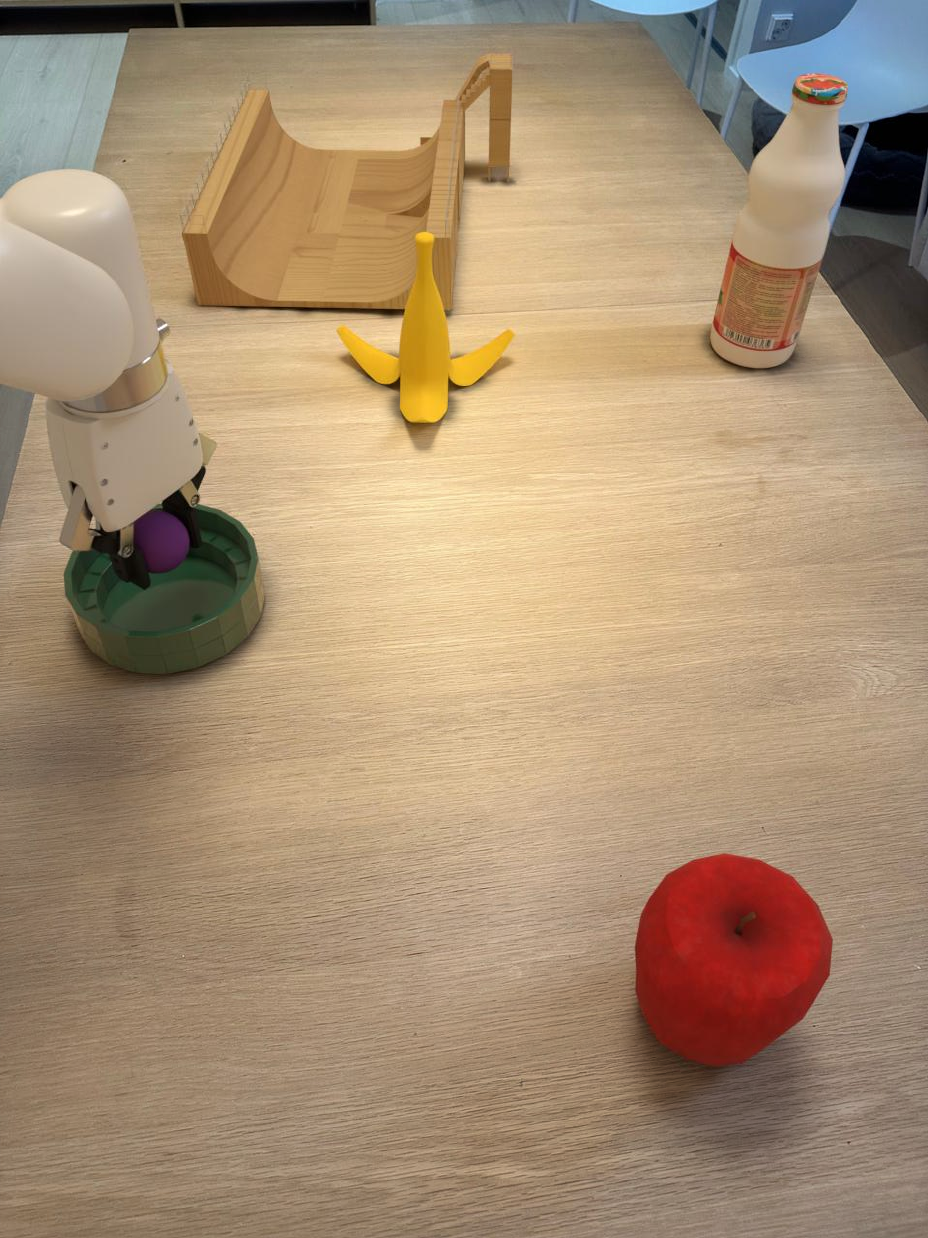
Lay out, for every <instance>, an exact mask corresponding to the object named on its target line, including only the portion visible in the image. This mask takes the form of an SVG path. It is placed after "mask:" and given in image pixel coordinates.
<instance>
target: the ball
mask: <svg viewBox="0 0 928 1238" xmlns="http://www.w3.org/2000/svg"><path fill="white" fill-rule="evenodd" d="M134 546H135V547H137V548H139V549H140V550H141V551H142V553H143V556H144V560H145V563H146V567H147V570H148V573H154V574H161V573H166V572H169V571H171V570H173V569H175V568H176V567H178V566H179V565H180V564H181V563H182V562H183V561H184V559H185V558H186V556H187V553H188V550H189V535H188V532H187V529H186V528H185V526H184V524H183V523H182V522H181V521H180V520H179V519H178V518H177V517H176V516H174V515H172V514H171V513H168V512H165V511H161V510H151V511H148V512H146V513H145V514H144V515H142V516H141V517H139V518H138V519H136V520H135V521H134Z"/></svg>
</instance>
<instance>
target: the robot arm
mask: <svg viewBox="0 0 928 1238" xmlns="http://www.w3.org/2000/svg"><path fill="white" fill-rule="evenodd" d="M137 234H138V233H137V230H136V226H135V221H134V217H133V213H132V209H131V206H130V203H129V201H128V197H127V196H126V194H125V193H124V191H123V190H122V189H121V187H120V186H119V185H118V184H117V183H115V182H114V180H112V179H110V178H109V177H107V176H104V175H103V174H100V173H98V172H95V171H91V170H87V169H77V168H63V169H61V168H60V169H52V170H47V171H42V172H38V173H34V174H31V175H29V176H25V177H24V178H22V179H20V180H18V181H16V182H15V183H14V184H13V185H12V186H10V187H9V188H8V189H7V190H6V191H5V193H4V194H3V195H2V197H0V385H3V386H6V387H7V386H8V387H11V388H14V389H18V390H21V391H24V392H28V393H31V394H34V395H39V396H42V397H46V398H47V399H46V400H45V418H46V419H45V421H46V431H47V438H48V445H49V450H50V454H51V459H52V463H53V468H54V472H55V477H56V480H57V483H58V486H59V490H60V494H61V496H62V500H63V502H64V504H65V507H66V509H67V512H66V515H65V519H64V522H63V525H62V528H61V531H60V535H59V538H58V541H59V543H60V544H61V545H62V546H64V547H65V548H68V550H71V551H72V552H73V551H90V550H96V551H97V552H101V553H108V554H109V557H110V560H111V563H112V566H113V569H114V572H115V574H116V575H117V576H118V577H119V578H120V579H121V580H123V581H124V582H126V583H129V582H132V583H133V584H135V585H137V586H138V587H140V588H142V589H143V590H146V589H147V588H148V587H149V586H150V583H151V580H150V577H149V573H148V570H147V567H146V563H145V560H144V556H143V553H142V551H141V550H140V549H139V548H137V547H135V546H134V521H135V520H136V519H138V518H139V517H141V516H142V515H144V514H145V513H146V512H148V511H149V510H151V509H152V508H153V507H155V506H156V505H157V504H160V503H162V507H163V511H165V512H168V513H171V514H172V515H174V516H176V517H177V518H178V519H179V520H180V521H181V522H182V523H183V524H184V526H185V528H186V529H187V532H188V535H189V546H190V547H192V548H194V549H195V548H196V549H198V548H199V547H200V546H202V545H203V543H202V539H201V534H200V530H199V527H200V525H199V521H198V517H197V512H196V508H195V507H196V506H197V505H198V504H199V503H200V502H201V499H202V497H201V495H200V493H199V490H200V487H201V485H202V482H203V480H204V478H205V476H206V472H207V469H206V466H208V465H209V463H210V461H211V459H212V457H213V455H214V453H215V451H216V449H217V447H218V445H217V442H216V441H215V440H214V439H211V438H210V437H207V436H206V435H204V434H202V433H201V432H199V429H198V426H197V422H196V419H195V416H194V413H193V409H192V407H191V403H190V401H189V399H188V396H187V393H186V392H185V389H184V387H183V384H182V382H181V380H180V378H179V376H178V374H177V373H176V370H175V369H174V367H173V365H172V363H171V362H170V361H169V360H167V358H165V357H166V356H165V354H164V349H163V344H162V343H163V342H164V341H165V339H166V338H168V337H169V336H170V335H171V329H170V326H169V325H168V323H167V322H166V321H165V320H164V319H163V318H160V317H159V318H157V319H156V314H155V310H154V305H153V300H152V297H151V292H150V288H149V284H148V279H147V275H146V271H145V266H144V261H143V257H142V252H141V248H140V244H139V240H138V235H137ZM93 518H94V520H95V528H96V529H95V528H92V527H91V528H90V526H91V523H92V519H93ZM113 531H116V533H114V532H113Z"/></svg>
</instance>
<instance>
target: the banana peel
mask: <svg viewBox="0 0 928 1238" xmlns="http://www.w3.org/2000/svg"><path fill="white" fill-rule="evenodd" d="M415 243H416V248H417V273H416V277H415V281H414V284H413V287H412V289H411V292H410V295H409V298H408V301H407V305H406V308H405V309H404V313H403V316H402V317H403V318H402V323H401V328H400V336H399V346H398V347H399V349H398V357H397V356H394V355H392V354H390V353H386V352H385V351H382V350H380V349H379V348H376V347H375V346H373V345H372V344H370V343H369V342H368V341H366V340H364V339H362V338H361V337H360V336H358V335H357V334H356V333H354V332H353V331H352V330H351V329H350V328H349V327H347V326H346V325H344V324H341V325H339V326H338V328H337V329H336V334H337V335H338V337H339V338H340V340H341V341H342V343H343V345H344V346H345V348H346V349H347V350H348V351H349V353H350V354H351V356H352V357H353V359H354V360H355V361H356V362H357V364H358V365H359V366H360V367H361V368H362V369H363V370H364V371H365V372H366V373H367V374H368V375H369V376H370V377H371V378H372V379H373V380H374V381H375V382H376V383H378V384H382V385H391V384H393V383H395V382H397V381H398V380H399V379H400V380H399V381H400V382H399V383H400V387H399V388H400V389H399V390H400V391H399V397H400V398H399V410H400V411H401V414H402V415H403V417H404V418H405V419H406V420H407V421H408V422H410V423H422V424H423V423H424V424H425V423H426V424H427V423H428V424H432V423H436V422H438V421H439V420H441V418H443V417H444V415H445V414H446V412H447V411H448V408H449V406H448V404H449V402H448V401H449V380H450V381H451V382H452V383H453V384H455V385H457V386H460V387H468V386H471V385H473V384H474V383H476V382H477V381H478V380H479V379H481V378H482V377H483V376H484V375H485V374H486V373H487V372H488V371H489V370H490V369H491V368H492V367H493V366H494V364H495V363H497V361H498V360H499V359H500V357H502V355H503V354H504V352H505V351H506V349H507V348H508V347H509V345H510V344H511V342H512V341H513V339H514V337H515V336H516V335H515V332H514V331H512V329H510V328H507V329H506V330H504V331H503V332H502V333H501V334H499V335H498V336H497V337H495V338H493V339H492V340H491V341H490V342H487V343H486V344H483V346H481V347H479V348H477V349H475V350H473V351H471V352H468V353H467V354H464V355H462V356H461V355H460V356H459V357H456V358H452V359H451V343H450V334H449V328H448V321H447V316H446V312H445V310H444V308H443V304H442V301H441V297H440V294H439V292H438V289H437V286H436V284H435V281H434V277H433V272H432V248H433V243H434V236H433V234H431V233H428V232H421V233H418V234H416V236H415Z"/></svg>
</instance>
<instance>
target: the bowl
mask: <svg viewBox="0 0 928 1238" xmlns="http://www.w3.org/2000/svg"><path fill="white" fill-rule="evenodd" d="M195 508H196V512H197V517H198V521H199V525H200V527H199V530H200V534H201V539H202V543H203V545H202V546H200V547H199V548H198V549H196V548H195V549H194V548H192V547H190V546H189V550H188V553H187V556H186V558H185V559H184V561H183V562H182V563H181V564H180V565H179V566H178V567H176V568H175V569H173V570H171V571H169V572H166V573H161V574H154V573H149V577H150V580H151V583H150V586H149V587H148V588H147V589H146V590H143V589H142V588H140V587H138V586H137V585H135V584H133V583H132V582H129V583H126V582H124V581H123V580H121V579H120V578H119V577H118V576H117V575H116V574H115V572H114V569H113V566H112V563H111V560H110V557H109V554H108V553H101V552H97V551H96V550H90V551H72V552H71V553H70V556H69V559H68V561H67V564H66V567H65V568H64V571H63V584H64V587H63V588H64V595H65V598H66V601H67V604H68V606H69V609H70V612H71V614H72V616H73V619H74V622H75V625H76V627H77V629H78V633H79V634H80V635H81V638H82V639H83V641H84V643H85V644H86V645H87V647H88V649H89V650H90V651H91V652H92V653H93V654H94V655H96V656H98V657H99V658H100V659H101V660H103V661H104V662H106V663H107V664H109V665H110V666H113V667H116V668H119V669H122V670H125V671H128V672H129V671H130V672H132V673H136V674H157V675H159V674H161V675H168V674H174V673H178V672H183V671H188V670H192V669H193V670H194V669H198V668H201V667H203V666H205V665H206V664H209V663H211V662H213V661H215V660H218V659H219V658H222V657H223V656H226V655H227V654H228V653H230V652H231V651H232V650H234V649H235V648H236V647H237V646H238V645H240V644H241V643H242V642H243V641H244V640H245V639H247V638H248V637H249V636H250V634H251V632H252V631H253V629H254V627H255V626H256V624H257V623H258V621H259V620H260V618H261V617H262V612H263V608H264V602H265V598H266V594H265V587H264V582H263V574H262V569H261V563H260V558H259V553H258V550H257V546H256V541H255V538H254V537H253V535H252V534H251V533H250V532H249V531H248V529H247V528H246V527H245V526H244V524H243V523H242V522H241V521H240V520H238V519H237V518H235V517H233V516H231V515H230V514H228V513H227V512H225V511H224V510H222V509H220V508H219V509H218V508H215V507H211V506H207V505H203V504H198V505H197V506H196V507H195ZM151 510H161V511H163V507H162V503H161V502H160V503H159V504H157V505H156V506H155V507H153V508H152V509H151ZM151 510H149V511H151ZM94 529H96V527H95V528H94ZM113 532H114V533H116V531H113Z"/></svg>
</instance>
